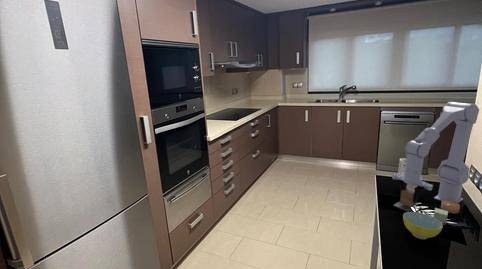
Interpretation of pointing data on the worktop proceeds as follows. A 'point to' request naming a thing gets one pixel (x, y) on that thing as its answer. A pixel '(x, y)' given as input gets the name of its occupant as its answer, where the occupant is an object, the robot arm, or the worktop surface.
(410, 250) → the worktop surface
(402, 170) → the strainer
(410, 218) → the bowl
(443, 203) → the brown rounded disc
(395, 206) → the plate
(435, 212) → the sage cube
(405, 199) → the walnut block
